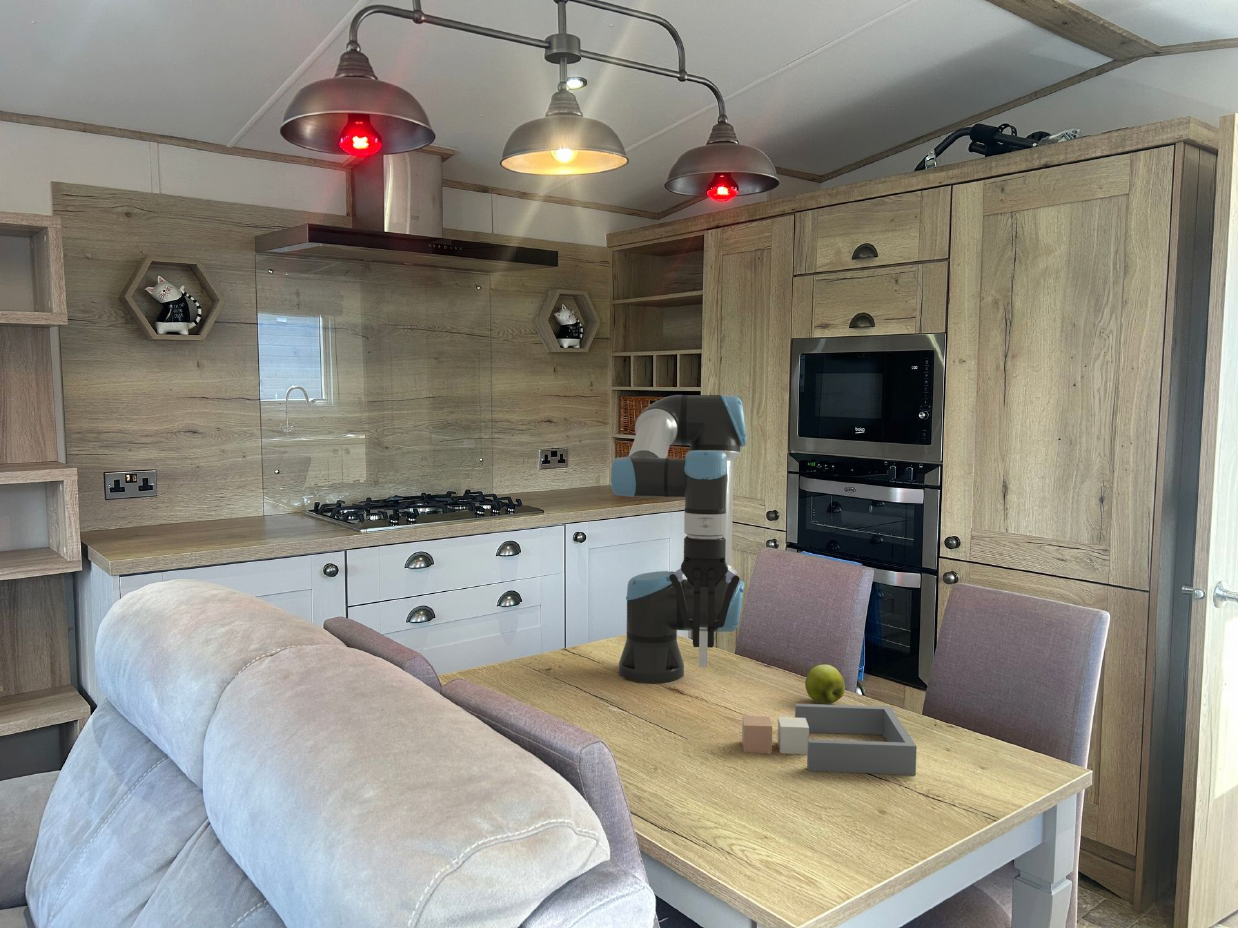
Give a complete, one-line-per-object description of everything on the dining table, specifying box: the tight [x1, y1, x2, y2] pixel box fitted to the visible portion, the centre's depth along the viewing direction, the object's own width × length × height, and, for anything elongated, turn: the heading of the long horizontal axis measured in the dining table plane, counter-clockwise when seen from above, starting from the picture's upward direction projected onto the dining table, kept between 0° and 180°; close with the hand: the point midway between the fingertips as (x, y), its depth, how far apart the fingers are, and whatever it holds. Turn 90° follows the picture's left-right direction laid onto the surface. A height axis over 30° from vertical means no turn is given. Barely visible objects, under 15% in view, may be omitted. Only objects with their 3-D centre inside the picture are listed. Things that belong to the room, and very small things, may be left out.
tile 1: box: [741, 715, 773, 754], centre depth 166 cm, size 5×5×5 cm
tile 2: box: [776, 716, 810, 755], centre depth 165 cm, size 5×5×5 cm
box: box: [794, 703, 918, 776], centre depth 164 cm, size 20×18×5 cm
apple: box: [804, 664, 846, 705], centre depth 190 cm, size 8×9×8 cm
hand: (702, 664), depth 165 cm, fingers closed
